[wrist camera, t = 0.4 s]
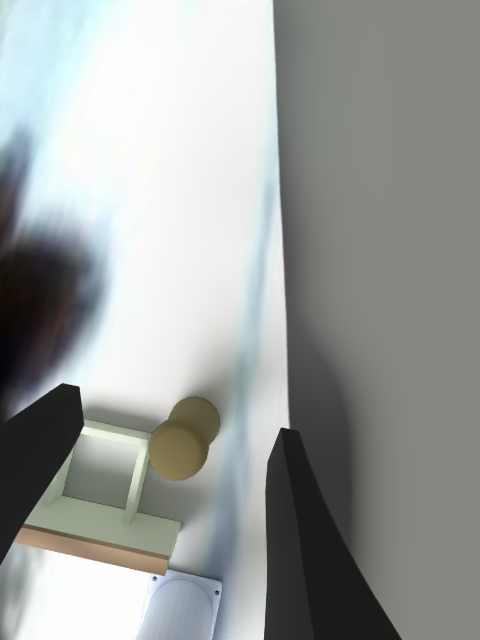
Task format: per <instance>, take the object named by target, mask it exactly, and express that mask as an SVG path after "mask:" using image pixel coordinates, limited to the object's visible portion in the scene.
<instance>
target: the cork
mask: <svg viewBox="0 0 480 640" xmlns="http://www.w3.org/2000/svg"><path fill="white" fill-rule="evenodd" d="M219 426H220V420H219V415H218V412H217V410H216V408H215V407H214V406H213V405H212V404H211V403H210V402H209V401H207V400H205V399H203V398H199V397H189V398H186V399H184V400H182V401H180V402H179V403H178V404H177V405H176V406H175V407H174V408H173V410H172V412H171V413H170V416H169V418H168V420H166V421H164V422H163V423H162V424H161V425H160V426H158V427H157V428H156V429H155V431H154V433H153V434H152V436H151V439H150V443H149V447H148V452H149V460H150V462H151V465H152V467H153V468H154V470H155V471H156V472H157V473H158V474H159V475H161V476H162V477H164V478H165V479H169V480H173V481H178V480H185V479H187V478H189V477H192V476H193V475H195V474H196V473H197V472H198V471H199V470H200V469H201V468H202V466H203V465H204V463H205V461H206V459H207V455H208V450H209V445H210V444H211V443H212V442H213V440H214V439H215V437H216V436H217V434H218V431H219Z"/></svg>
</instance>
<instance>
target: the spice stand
mask: <svg viewBox="0 0 480 640" xmlns="http://www.w3.org/2000/svg"><path fill="white" fill-rule="evenodd" d="M81 434H85V435H90V436H94V437H99V438H103V439H108V440H113V441H117V442H122V443H126V444H131V445H135V446H140V448H139V452H138V456H137V460H136V465H135V469H134V473H133V477H132V482H131V486H130V490H129V494H128V499H127V503H126V507H125V510H124V509H120V508H115V507H111V506H106V505H102V504H97V503H93V502H88V501H84V500H79V499H75V498H70V497H66V496H62V494H63V490H64V486H65V482H66V478H67V474H68V470H69V466H70V463H71V459H72V455H73V451H74V447H75V445H74V447H73V449H72V451H71V452H70V454H69V456H68V457H67V459H66V460H65V462H64V463H63V465H62V467H61V468H60V470H59V471H58V473H57V474H56V476H55V477H54V479H53V480H52V482H51V483H50V485H49V486H48V488H47V489H46V491H45V492H44V494H43V495H42V497H41V498H40V500H39V501H38V503H37V504H36V506H35V507H34V509H33V510H32V512H31V513H30V515H29V516H28V518H27V519H26V521H25V523H24V524H23V526H22V528H21V529H20V531H19V532H18V534H17V536H16V538H15V540H14V541H13V542H15V543H20V544H24V545H28V546H33V547H37V548H42V549H46V550H50V551H55V552H59V553H64V554H68V555H73V556H77V557H81V558H86V559H90V560H95V561H99V562H104V563H108V564H112V565H117V566H121V567H126V568H130V569H134V570H139V571H143V572H148V573H152V574H157V575H161V576H165V574H166V571H167V568H168V565H169V562H170V559H171V556H172V553H173V550H174V547H175V544H176V541H177V537H178V534H179V530H180V526H181V522H178V521H174V520H169V519H165V518H160V517H156V516H151V515H147V514H142V513H138V512H137V509H138V505H139V501H140V496H141V492H142V488H143V484H144V479H145V475H146V471H147V466H148V462H149V452H148V447H149V443H150V439H151V436H152V434H151V433H146V432H142V431H137V430H132V429H128V428H123V427H119V426H114V425H110V424H105V423H100V422H96V421H91V420H87V419H84V427H83V429H82V431H81Z"/></svg>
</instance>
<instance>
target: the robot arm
mask: <svg viewBox="0 0 480 640" xmlns="http://www.w3.org/2000/svg"><path fill="white" fill-rule="evenodd" d="M83 427H84V418H83V411H82V403H81V395H80V388H79V386H74V385H69V384H64V383H62V384H60V385H59V386H57V387H56V388H54V389H53V390H51V391H50V392H48V393H47V394H45V395H44V396H43V397H41V398H40V399H38V400H37V401H35V402H34V403H32V404H31V405H30V406H28V407H27V408H25V409H24V410H22V411H21V412H19V413H18V414H16V415H15V416H13V417H12V418H10V419H9V420H7V421H6V422H4V423H3V424H1V425H0V565H1V563H2V561H3V560H4V558H5V556H6V554H7V552H8V551H9V549H10V547H11V545H12V543H13V541H14V540H15V538H16V536H17V534H18V532H19V531H20V529H21V528H22V526H23V524H24V523H25V521H26V519H27V518H28V516H29V515H30V513H31V512H32V510H33V509H34V507H35V506H36V504H37V503H38V501H39V500H40V498H41V497H42V495H43V494H44V492H45V491H46V489H47V488H48V486H49V485H50V483H51V482H52V480H53V479H54V477H55V476H56V474H57V473H58V471H59V470H60V468H61V467H62V465H63V463H64V462H65V460H66V459H67V457H68V456H69V454H70V452H71V451H72V449H73V447H74V445H75V443H76V441H77V439H78V437H79V435H80V433H81V431H82V429H83ZM265 497H266V538H267V594H266V613H265V630H264V640H402V639H401V638H400V636H399V634H398V632H397V631H396V629H395V628H394V626H393V624H392V623H391V621H390V620H389V618H388V616H387V615H386V613H385V612H384V610H383V608H382V607H381V605H380V604H379V602H378V600H377V599H376V598H375V596H374V594H373V592H372V591H371V589H370V587H369V585H368V584H367V582H366V580H365V578H364V577H363V575H362V573H361V572H360V570H359V568H358V566H357V564H356V563H355V561H354V559H353V557H352V556H351V553H350V551H349V550H348V548H347V546H346V544H345V542H344V540H343V538H342V536H341V534H340V532H339V530H338V528H337V526H336V523H335V521H334V519H333V517H332V515H331V513H330V511H329V508H328V507H327V504H326V502H325V499H324V497H323V495H322V493H321V490H320V488H319V485H318V483H317V480H316V478H315V476H314V473H313V470H312V468H311V465H310V462H309V460H308V457H307V454H306V451H305V448H304V445H303V442H302V439H301V436H300V433H299V432H298V431H296V430H291V429H286V428H281V429H280V431H279V434H278V436H277V439H276V442H275V444H274V447H273V449H272V452H271V455H270V457H269V460H268V464H267V477H266V491H265ZM154 576H156V577H157V579H155V578H154ZM216 590H218V591H219V592H218V593H216V592H215V591H216ZM221 593H222V583H221V582H220V581H217V580H213V579H208V578H204V577H199V576H195V575H191V574H186V573H182V572H177V571H173V570H168V569H167V571H166V574H165V576H161V575H157V574H152V573H151V577H150V581H149V586H148V590H147V595H146V599H145V604H144V608H143V613H142V617H141V622H140V626H139V631H138V635H137V638H136V640H212V637H213V632H214V627H215V623H216V618H217V613H218V608H219V603H220V598H221Z"/></svg>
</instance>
